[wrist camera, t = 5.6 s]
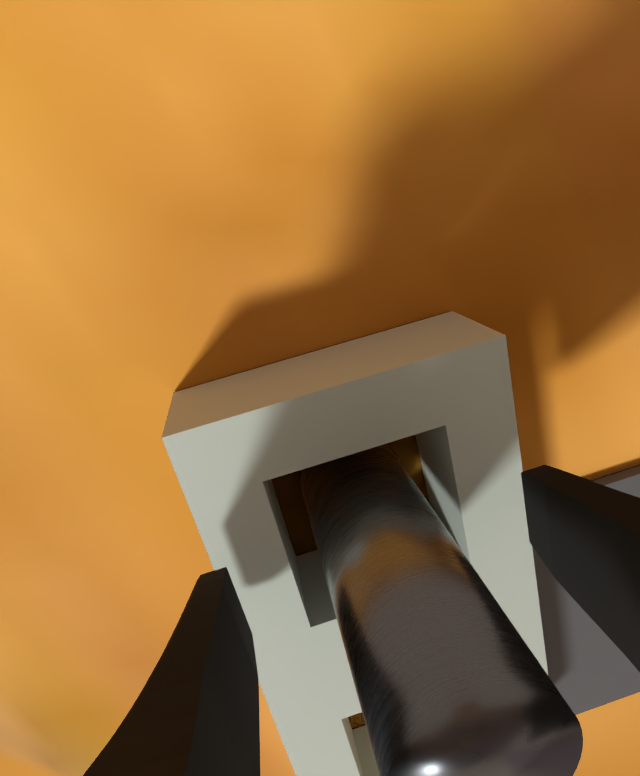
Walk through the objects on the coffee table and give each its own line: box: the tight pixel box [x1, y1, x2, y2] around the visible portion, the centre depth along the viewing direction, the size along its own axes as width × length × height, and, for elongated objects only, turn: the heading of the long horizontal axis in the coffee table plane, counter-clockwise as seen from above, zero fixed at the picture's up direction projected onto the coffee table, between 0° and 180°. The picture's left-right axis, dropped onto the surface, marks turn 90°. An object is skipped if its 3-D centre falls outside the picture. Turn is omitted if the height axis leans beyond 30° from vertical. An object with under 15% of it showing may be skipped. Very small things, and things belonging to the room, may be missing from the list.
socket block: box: [162, 311, 548, 776], centre depth 16 cm, size 16×8×3 cm, turn 14°
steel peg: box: [300, 443, 583, 776], centre depth 12 cm, size 3×3×9 cm
